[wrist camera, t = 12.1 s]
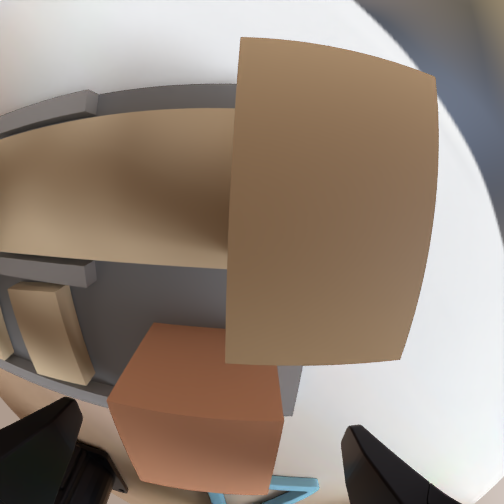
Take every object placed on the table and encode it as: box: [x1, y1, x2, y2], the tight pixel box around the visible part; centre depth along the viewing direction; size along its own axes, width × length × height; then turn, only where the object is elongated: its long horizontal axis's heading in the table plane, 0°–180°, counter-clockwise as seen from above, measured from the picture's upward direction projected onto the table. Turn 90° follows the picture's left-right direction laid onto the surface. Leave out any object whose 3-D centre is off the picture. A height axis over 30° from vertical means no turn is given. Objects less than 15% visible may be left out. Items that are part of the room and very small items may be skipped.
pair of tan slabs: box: [0, 282, 95, 386], centre depth 9 cm, size 5×11×1 cm, turn 87°
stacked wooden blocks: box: [0, 37, 439, 366], centre depth 6 cm, size 5×13×6 cm, turn 87°
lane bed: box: [0, 84, 303, 416], centre depth 9 cm, size 13×20×2 cm, turn 87°
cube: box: [106, 323, 284, 495], centre depth 8 cm, size 4×4×4 cm
